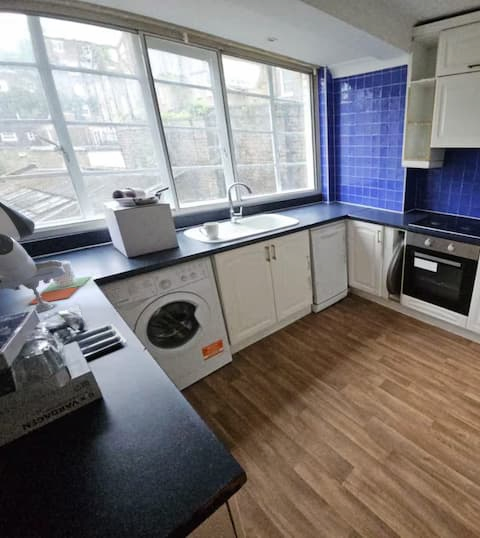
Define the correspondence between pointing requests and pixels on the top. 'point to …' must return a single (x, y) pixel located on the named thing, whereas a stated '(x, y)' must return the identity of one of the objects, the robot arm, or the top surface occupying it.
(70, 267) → the white cup
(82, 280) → the sage mat
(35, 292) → the chalice
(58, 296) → the terracotta mat
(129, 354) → the top surface
